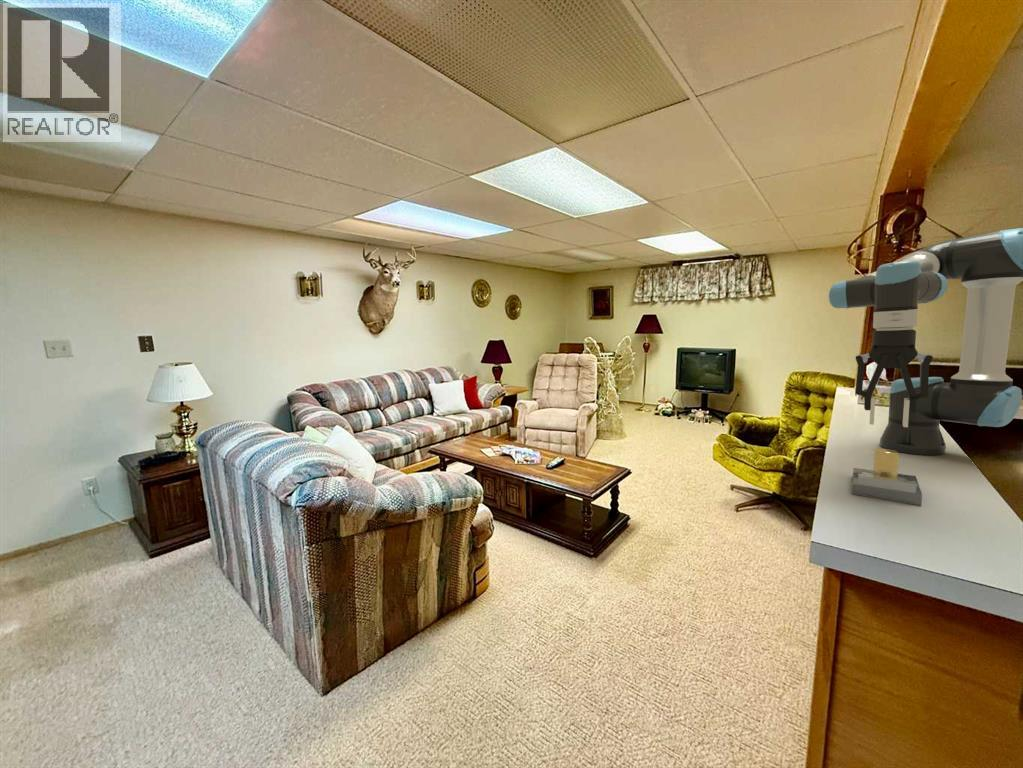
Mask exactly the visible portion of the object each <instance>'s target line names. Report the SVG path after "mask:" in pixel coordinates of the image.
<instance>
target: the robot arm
mask: <svg viewBox="0 0 1023 768" xmlns="http://www.w3.org/2000/svg"><path fill="white" fill-rule="evenodd" d="M957 279H960V280H961V281H960V284H961V285H962V286H963V287H965V288H966V289H967V297H966V306H965V315H964V316H965V317H964V324H963V334H962V342H961V350H960V351H961V352H960V359H959V369H958V372H957V373H955V374H953V375H952V376H951V377H950V380H949V381H950V382H944V381H945V380H944V378H943V377H941V376H929V372H930V364H931V362H932V361H933V359H934V357H933V355H931V354H926V353H925V354H923V353H922V352H918V351H917V349H916V339H917V337H916V336H917V330H916V329H913V328H915V327H917V326H918V325H917V322H918V321H917V320H918V307H919V304H927V303H930V302H934V301H936V300H939V299H940V298H941V297H942V296H944V295H945V293H946V292H947V290H948V286H949V284H948V283H949V282H948V280H957ZM1021 282H1023V227H1021V228H1020V227H1019V228H1012V229H1010V228H1009V229H1000V230H997V231H992V232H991V231H990V232H985V233H981V234H976V235H974V234H973V235H970V236H969V235H968V236H964V237H959V238H958V237H957V238H951V239H947V240H944V241H940V242H937V243H934V244H930V245H928V246H926V247H924V248H921V249H919V250H916V251H914V252H911V253H909V254H906V256H904V257H903V258H902V259H901V260H900V261H896V262H889V263H884V264H881V265H879V266H878V267H877V269H876V271H874V272H871V273H869V274H866V275H864V276H861V277H858V278H855V279H851V280H843V281H837V282H835V283H833V284H832V286H831V287H830V289H829V291H828V301H829V304H830V306H831V307H833V308H835V309H847V310H848V309H852V308H863V307H865V308H866V307H874V308H873V316H872V317H873V320H872V321H873V322H872V328H873V329H875V330H874V331H872V337H871V348H870V349H869V351H868V353H864V354H857V355H856V356H855V360H856V363H857V373H856V385H855V395H857V396H861V397H863V398H864V405H863V406H864V407H863V408H864V411H869V425H875V412H876V411H875V410H876V409H875V408H876V407H875V406H876V397H875V396H873V394H874V391H875V389H876V387H877V385H878V382H879V380H880V378H881V376H882V373H883V372H884V370H885V369H891V368H892V369H899V371H900V373H901V377H902V378H899V379H896V380H893V381H892V382H891V384H890V390H889V392H888V394H889V400H888V401H889V403H888V404H889V406H888V419H887V420H888V421H887V425H886V427H885V428H884V430H883V433H882V435H881V436H880V438H879V446H880V447H881V448H882V449H889V450H894V451H897V452H899V453H904V454H911V455H920V456H921V455H922V456H923V455H924V456H939V455H943V454H946V452H947V445H946V442H945V439H944V436H943V434H942V432H941V428H940V422H941V421H944V422H952V423H958V424H967V425H974V426H978V427H991V428H992V427H993V428H1000V427H1001V428H1002V427H1005V426H1007V425H1008V424H1010V423H1011V422H1012V421H1013V420H1014V418H1015V417H1016V415H1017V413H1018V412H1019V409H1020V407H1021V404H1022V400H1023V395H1022V394H1023V389H1021V388H1020V387H1018V386H1016V385H1013V382H1014V380H1013V378H1011V377H1010V376H1009V375H1007V373H1006V368H1007V367H1006V366H1007V359H1008V351H1009V344H1010V336H1011V327H1012V319H1013V310H1014V302H1015V296H1016V287H1017V285H1019V284H1020V283H1021ZM870 358H871V360H872V361H873V362H874V363H875V364H876V367H875V369H874V372H873V374H872V377H871V379H870V381H869V383H868V385H867V388H866V390H863V387H864V386H863V385H864V384H863V383H864V374H865V364H866V363H867V362H868V359H870ZM915 358H917V362H918V363H919V364H920V366H919V377H911V375H910V373H909V372H910V371H909V369H908V365H909V364H910V363H911V362H912V361H913V360H914V359H915Z"/></svg>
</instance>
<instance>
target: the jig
mask: <svg viewBox="0 0 1023 768" xmlns="http://www.w3.org/2000/svg"><path fill="white" fill-rule="evenodd" d="M852 470H853V471H852V486H851V487H852V491H851V494H852V495H854V496H859V497H860V496H861V497H862V496H863V497H866V496H867V497H868V498H872V497H873V499H881V500H886V501H892V502H897V503H904V504H907V505H909V504H910V505H916V506H922V502H923V494H922V491H921V488H920V484H919V480H918V479H917V476H916V475H909V474H904V473H898V475H897V479H894V478H887V477H880V476H873V469H865V468H859V467H853V468H852ZM867 497H866V498H867Z"/></svg>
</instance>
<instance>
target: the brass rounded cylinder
mask: <svg viewBox="0 0 1023 768" xmlns="http://www.w3.org/2000/svg"><path fill="white" fill-rule="evenodd" d="M873 455H874V457H873V469H872V470H873V476H880V477H887V478H894V479H897V475H898V474H899V473H898V471H899V458H900V452H898V451H894V450H889V449H886V448H876V449H874V454H873Z"/></svg>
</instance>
